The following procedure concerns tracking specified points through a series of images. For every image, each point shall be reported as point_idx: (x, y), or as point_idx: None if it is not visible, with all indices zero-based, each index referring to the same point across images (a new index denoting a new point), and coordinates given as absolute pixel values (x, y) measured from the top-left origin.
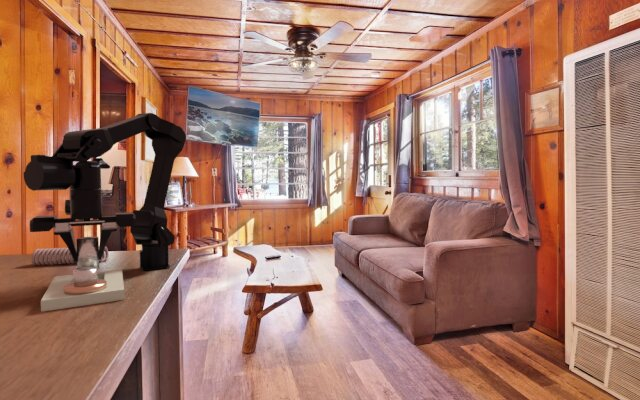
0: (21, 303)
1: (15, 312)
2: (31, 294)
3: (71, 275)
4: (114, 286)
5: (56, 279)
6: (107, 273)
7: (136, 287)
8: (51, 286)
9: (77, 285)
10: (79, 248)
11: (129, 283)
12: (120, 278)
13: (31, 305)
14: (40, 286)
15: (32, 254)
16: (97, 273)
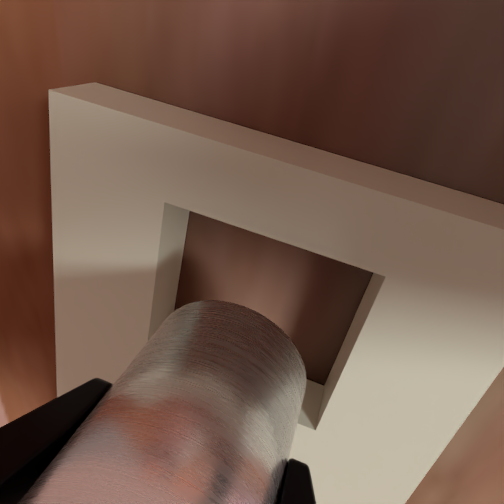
0: (9, 314)
1: (18, 396)
2: (12, 200)
3: (155, 148)
4: None
5: (70, 199)
6: (397, 305)
7: (464, 488)
8: (65, 343)
9: None
10: None
11: (486, 401)
12: (400, 483)
13: (47, 366)
14: (16, 28)
15: None
16: (335, 240)
